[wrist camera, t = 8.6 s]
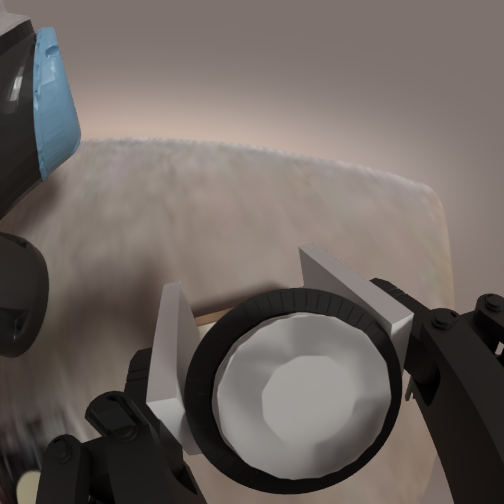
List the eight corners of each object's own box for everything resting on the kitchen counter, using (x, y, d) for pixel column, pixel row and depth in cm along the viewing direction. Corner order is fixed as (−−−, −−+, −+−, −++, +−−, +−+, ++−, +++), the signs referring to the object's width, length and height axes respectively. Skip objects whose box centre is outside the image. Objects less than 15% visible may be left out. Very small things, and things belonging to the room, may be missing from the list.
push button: (203, 333, 15) (131, 263, 6) (291, 303, 16) (341, 198, 7) (242, 440, 12) (228, 536, 3) (333, 406, 13) (445, 435, 4)
